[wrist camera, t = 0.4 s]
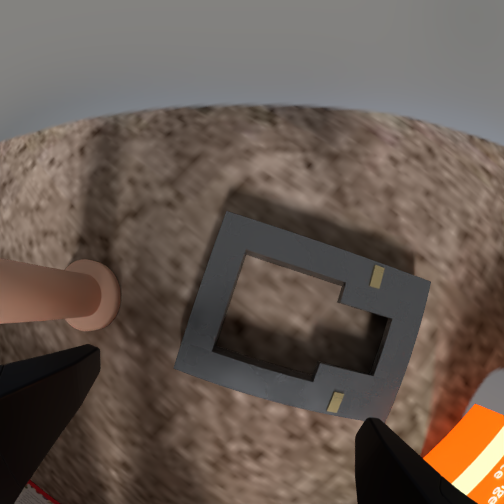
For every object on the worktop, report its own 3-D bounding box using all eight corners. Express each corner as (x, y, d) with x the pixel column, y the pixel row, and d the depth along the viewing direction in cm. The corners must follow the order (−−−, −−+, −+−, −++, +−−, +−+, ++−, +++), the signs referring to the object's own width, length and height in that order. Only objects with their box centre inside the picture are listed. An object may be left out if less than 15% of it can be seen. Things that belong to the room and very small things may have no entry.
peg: (79, 339, 23) (-50, 364, 8) (57, 278, 24) (-71, 257, 9) (131, 313, 24) (4, 327, 9) (105, 249, 24) (-21, 201, 9)
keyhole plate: (181, 360, 23) (173, 369, 20) (229, 220, 25) (226, 210, 22) (372, 412, 22) (385, 424, 19) (414, 283, 24) (432, 281, 21)
